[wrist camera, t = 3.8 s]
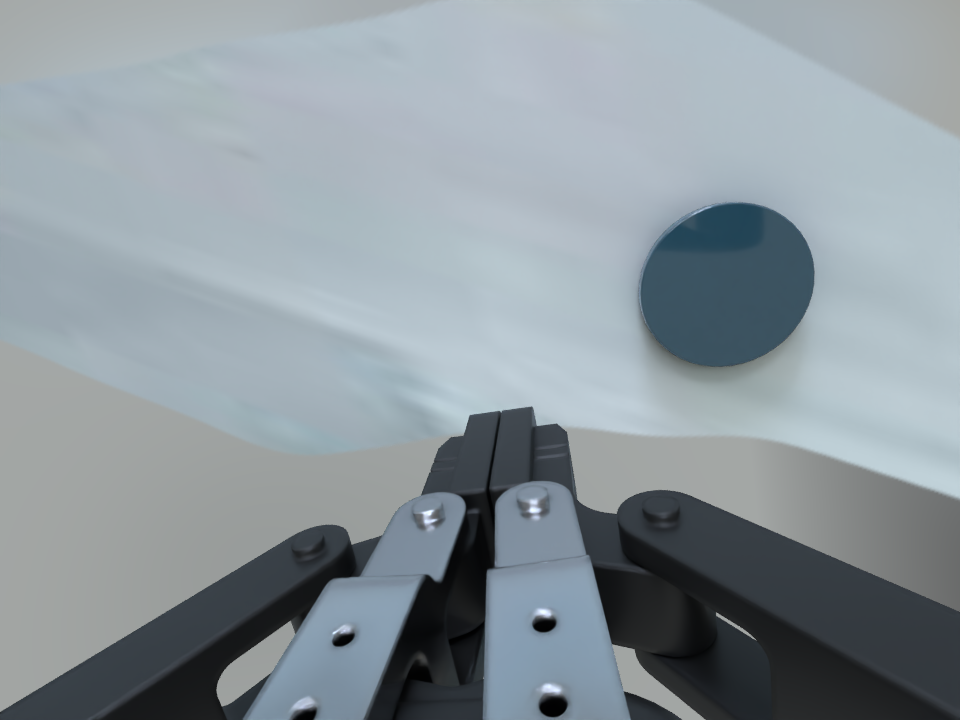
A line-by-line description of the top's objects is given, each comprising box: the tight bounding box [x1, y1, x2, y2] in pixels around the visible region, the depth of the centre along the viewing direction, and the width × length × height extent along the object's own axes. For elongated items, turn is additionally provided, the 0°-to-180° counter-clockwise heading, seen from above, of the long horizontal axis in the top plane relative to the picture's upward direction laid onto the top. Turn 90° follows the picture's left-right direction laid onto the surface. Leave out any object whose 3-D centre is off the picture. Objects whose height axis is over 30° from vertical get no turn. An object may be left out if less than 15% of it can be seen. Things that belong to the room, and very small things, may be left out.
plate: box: [639, 202, 814, 367], centre depth 24 cm, size 7×7×1 cm
